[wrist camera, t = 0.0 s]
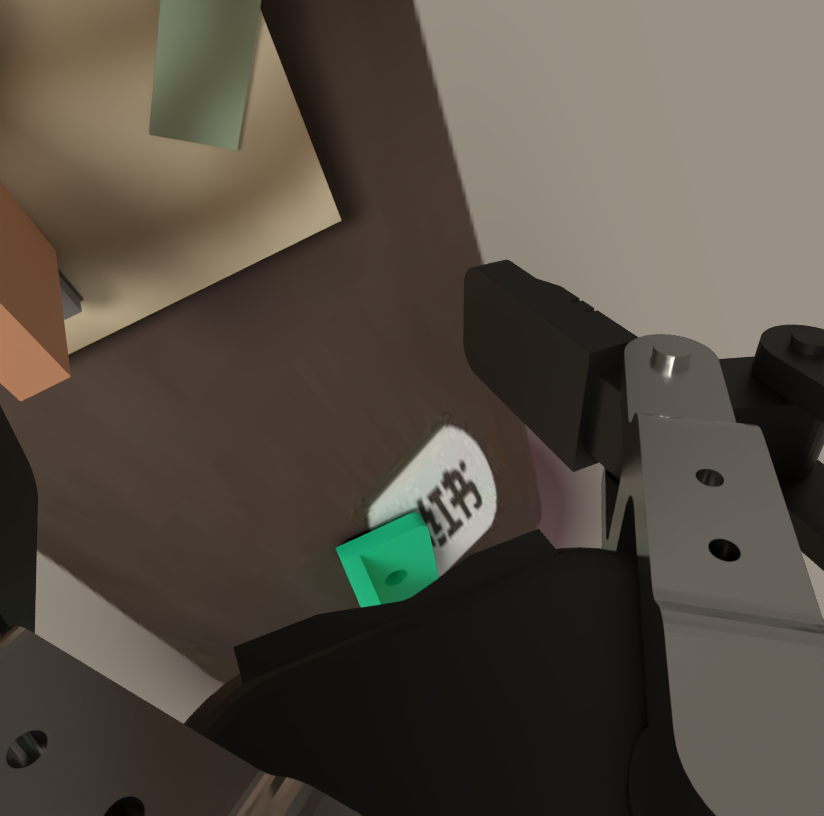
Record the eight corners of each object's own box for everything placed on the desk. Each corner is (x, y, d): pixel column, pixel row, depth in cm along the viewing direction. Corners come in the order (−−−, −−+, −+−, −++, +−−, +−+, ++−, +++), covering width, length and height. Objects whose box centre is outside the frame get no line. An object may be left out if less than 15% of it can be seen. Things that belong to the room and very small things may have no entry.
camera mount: (430, 569, 64) (480, 661, 58) (359, 603, 63) (402, 702, 56) (413, 499, 56) (470, 598, 49) (331, 537, 54) (377, 645, 47)
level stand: (-742, -360, 15) (-989, -407, 11) (19, -605, 17) (24, -715, 13) (7, 360, 33) (8, 433, 29) (331, 202, 35) (371, 252, 31)
